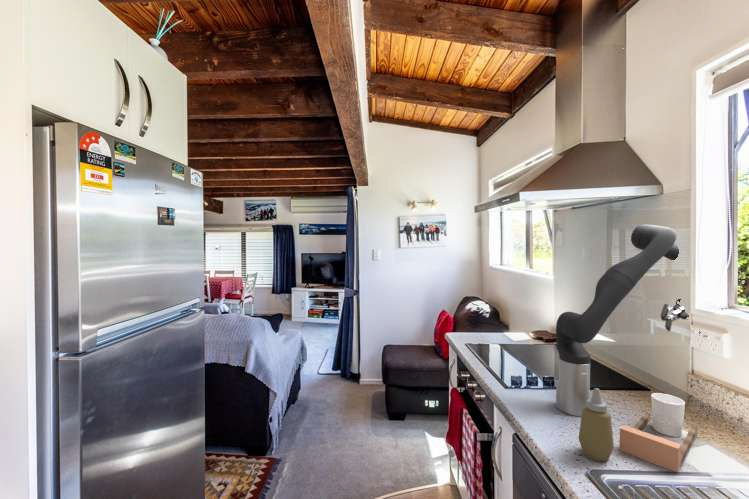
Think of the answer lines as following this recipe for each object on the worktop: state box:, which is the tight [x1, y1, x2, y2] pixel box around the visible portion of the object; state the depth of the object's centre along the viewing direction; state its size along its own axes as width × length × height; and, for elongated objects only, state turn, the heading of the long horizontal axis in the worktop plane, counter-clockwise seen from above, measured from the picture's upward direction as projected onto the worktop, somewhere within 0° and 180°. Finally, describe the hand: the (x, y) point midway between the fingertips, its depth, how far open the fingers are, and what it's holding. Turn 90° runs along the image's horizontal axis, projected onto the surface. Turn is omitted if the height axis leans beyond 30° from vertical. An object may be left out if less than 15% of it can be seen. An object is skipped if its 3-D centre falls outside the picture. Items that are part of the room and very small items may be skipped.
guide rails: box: [632, 412, 698, 469], centre depth 101 cm, size 24×12×2 cm, turn 130°
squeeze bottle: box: [578, 387, 615, 462], centre depth 94 cm, size 8×8×18 cm
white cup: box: [650, 392, 686, 438], centre depth 106 cm, size 8×8×10 cm
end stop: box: [618, 424, 682, 473], centre depth 93 cm, size 3×12×6 cm, turn 40°
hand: (684, 332), depth 120 cm, fingers open, 8 cm apart
